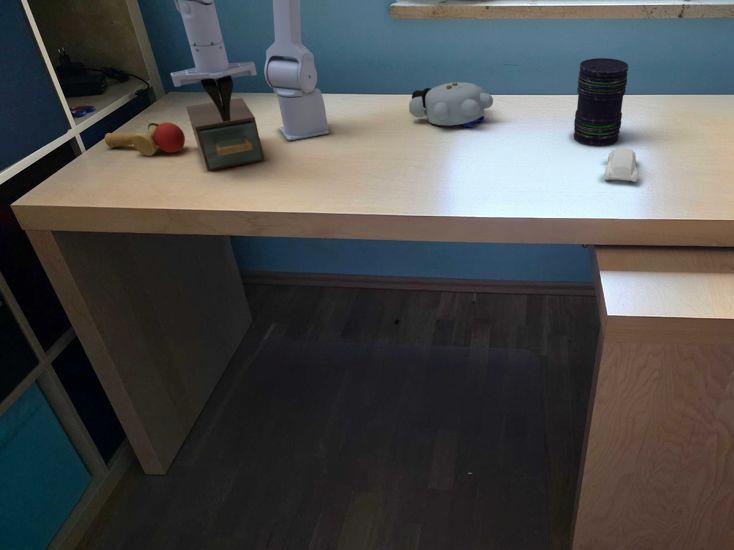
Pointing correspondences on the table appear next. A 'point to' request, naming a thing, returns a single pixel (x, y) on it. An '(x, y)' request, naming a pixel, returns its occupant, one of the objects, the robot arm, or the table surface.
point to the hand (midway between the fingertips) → (226, 119)
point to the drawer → (230, 144)
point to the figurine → (451, 104)
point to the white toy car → (621, 165)
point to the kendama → (150, 138)
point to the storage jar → (600, 101)
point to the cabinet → (219, 123)
